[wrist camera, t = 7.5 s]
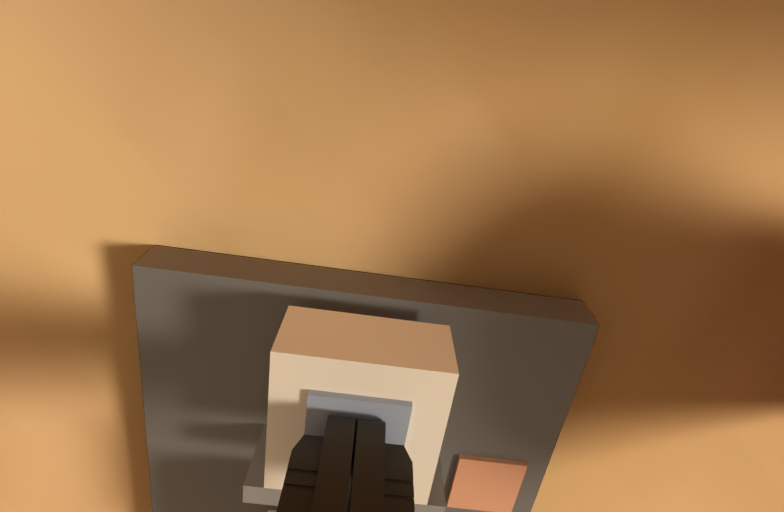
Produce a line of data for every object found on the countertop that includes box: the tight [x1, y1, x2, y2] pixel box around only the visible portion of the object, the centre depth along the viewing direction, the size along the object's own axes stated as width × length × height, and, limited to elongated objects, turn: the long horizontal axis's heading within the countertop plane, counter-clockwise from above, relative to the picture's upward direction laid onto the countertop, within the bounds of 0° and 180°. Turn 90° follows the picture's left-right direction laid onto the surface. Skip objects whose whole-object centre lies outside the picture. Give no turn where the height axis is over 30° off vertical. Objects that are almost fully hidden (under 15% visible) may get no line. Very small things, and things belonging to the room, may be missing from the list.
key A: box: [264, 306, 459, 505], centre depth 14 cm, size 5×5×4 cm
